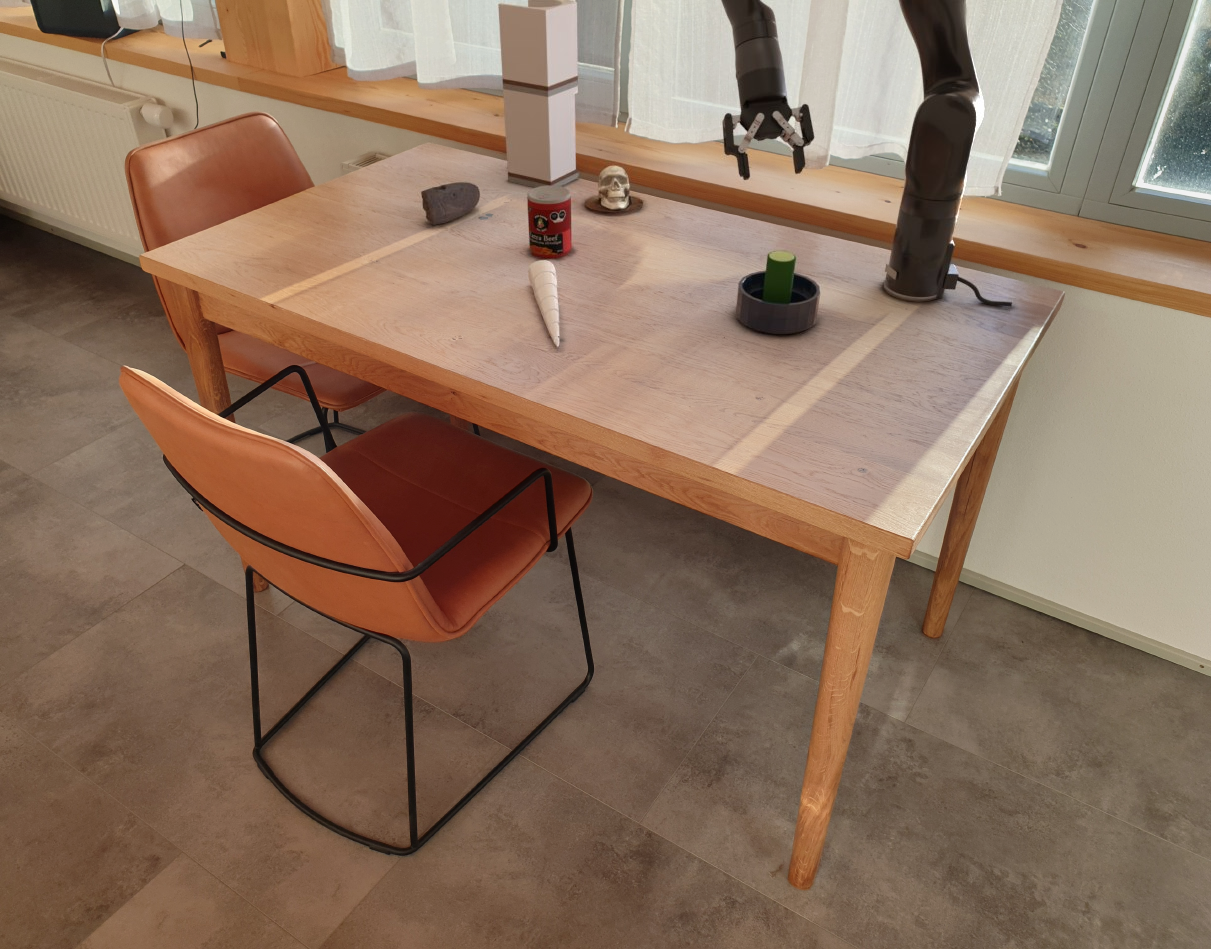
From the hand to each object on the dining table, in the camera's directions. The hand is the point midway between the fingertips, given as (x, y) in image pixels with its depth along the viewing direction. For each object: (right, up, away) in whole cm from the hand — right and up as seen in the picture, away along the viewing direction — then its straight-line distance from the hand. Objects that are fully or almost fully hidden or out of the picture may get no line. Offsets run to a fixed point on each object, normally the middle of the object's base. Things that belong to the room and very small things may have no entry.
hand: (773, 175), depth 151 cm
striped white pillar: (-41, +16, +54) cm, 70 cm away
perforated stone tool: (-57, +3, +35) cm, 67 cm away
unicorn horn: (-36, -22, +2) cm, 42 cm away
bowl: (0, -23, 0) cm, 23 cm away
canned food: (-37, -7, +22) cm, 44 cm away
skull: (-25, +7, +41) cm, 49 cm away
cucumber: (0, -23, 0) cm, 23 cm away
